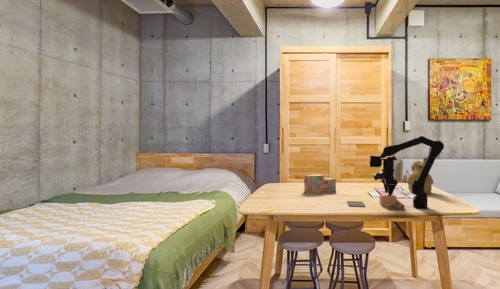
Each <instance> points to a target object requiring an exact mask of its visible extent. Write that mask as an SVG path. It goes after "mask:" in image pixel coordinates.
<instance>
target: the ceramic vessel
mask: <svg viewBox="0 0 500 289" xmlns="http://www.w3.org/2000/svg"><path fill="white" fill-rule="evenodd" d="M422 159H423V160H422V161H421V160H417V161H413V163H412V164H411V167H410V169H411V171H412V172H411V173H410V174H409V175H408V176H407V179H406V180H407V181H406V183H407V184H408V186H407V188H408V190H409V191H410V192H411V194H414V193H413V192H412V190H411V185H410V184H412V181H413V179H415V180H416V179H417V178H418V176H419V174H420V172H421V170H422V168H423V166H424V163H425V161H426V159H427V157H423V158H422ZM433 184H434V179H433V177H432V175H431V174H430V173H429V174H428V176H427V178H426V180H425V185H424V191H425V192H426V194H427V195H430V194H431V193H432V185H433Z"/></svg>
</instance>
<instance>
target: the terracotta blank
mask: <svg viewBox="0 0 500 289" xmlns="http://www.w3.org/2000/svg"><path fill="white" fill-rule="evenodd" d="M396 199H397V196H396V195H395V194H392V195H391V196H389V194H386V193H385V194H383V193H382V194H379V205H380V206H381V207H387V204H390V205H396Z"/></svg>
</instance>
